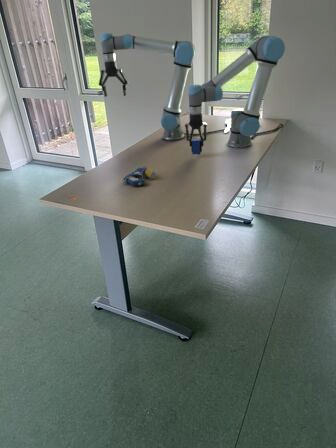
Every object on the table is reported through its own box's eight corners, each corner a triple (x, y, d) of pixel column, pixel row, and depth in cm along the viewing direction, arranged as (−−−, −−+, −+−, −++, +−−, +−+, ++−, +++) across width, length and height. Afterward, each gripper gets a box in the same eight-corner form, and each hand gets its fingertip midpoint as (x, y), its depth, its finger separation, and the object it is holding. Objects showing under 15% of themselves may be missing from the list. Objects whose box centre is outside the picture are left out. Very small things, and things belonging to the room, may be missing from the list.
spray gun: (161, 173, 192) (139, 170, 198) (160, 166, 189) (138, 164, 196) (143, 189, 176) (120, 186, 183) (142, 181, 174) (118, 179, 180)
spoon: (232, 135, 248) (232, 132, 246) (218, 134, 251) (218, 132, 250) (241, 119, 274) (241, 117, 273) (228, 119, 278) (228, 117, 276)
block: (192, 154, 208) (191, 140, 204) (193, 151, 213) (193, 137, 208) (200, 154, 207) (199, 140, 203) (201, 151, 212) (200, 137, 208)
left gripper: (89, 63, 213) (96, 97, 224) (126, 60, 208) (131, 96, 219) (94, 61, 219) (100, 95, 230) (130, 59, 214) (134, 94, 225)
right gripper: (179, 115, 196) (181, 153, 208) (210, 114, 193) (210, 153, 205) (181, 112, 202) (183, 149, 215) (211, 111, 199) (211, 149, 211)
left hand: (115, 96), depth 224 cm, fingers open, 13 cm apart
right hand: (196, 151), depth 210 cm, fingers closed on block, 5 cm apart
